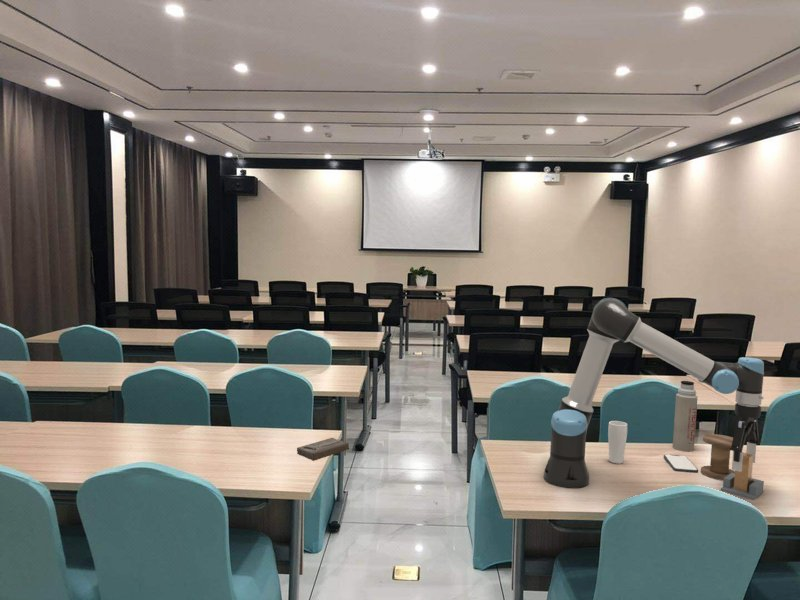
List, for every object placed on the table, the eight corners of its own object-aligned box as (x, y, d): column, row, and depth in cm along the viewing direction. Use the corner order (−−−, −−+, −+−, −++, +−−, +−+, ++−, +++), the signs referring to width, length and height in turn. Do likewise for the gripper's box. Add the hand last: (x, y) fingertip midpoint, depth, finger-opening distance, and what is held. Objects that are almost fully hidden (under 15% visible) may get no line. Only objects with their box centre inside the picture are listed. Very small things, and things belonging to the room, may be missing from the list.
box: (349, 450, 233) (349, 442, 233) (313, 461, 221) (313, 453, 221) (332, 444, 241) (332, 437, 240) (296, 455, 228) (296, 447, 228)
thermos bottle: (698, 451, 246) (703, 383, 244) (682, 452, 243) (686, 384, 241) (684, 444, 253) (688, 379, 251) (668, 446, 251) (672, 379, 249)
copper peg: (746, 492, 200) (749, 457, 199) (733, 488, 203) (736, 454, 202) (750, 489, 203) (753, 454, 202) (737, 485, 206) (740, 451, 205)
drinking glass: (626, 465, 226) (629, 426, 225) (607, 463, 227) (610, 424, 226) (623, 459, 232) (626, 421, 231) (605, 458, 234) (607, 420, 233)
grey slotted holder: (753, 499, 196) (754, 488, 196) (720, 490, 203) (721, 479, 203) (763, 492, 203) (763, 481, 203) (731, 483, 210) (731, 472, 210)
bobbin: (731, 483, 210) (733, 446, 209) (695, 473, 219) (697, 438, 218) (742, 475, 219) (745, 439, 218) (707, 466, 227) (710, 432, 226)
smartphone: (699, 475, 220) (686, 459, 236) (699, 470, 220) (686, 455, 235) (673, 472, 221) (662, 457, 237) (673, 468, 221) (662, 453, 237)
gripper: (748, 412, 190) (743, 477, 191) (772, 400, 207) (767, 461, 208) (722, 407, 195) (718, 471, 197) (748, 396, 212) (743, 455, 214)
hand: (743, 466), depth 203 cm, fingers open, 13 cm apart
